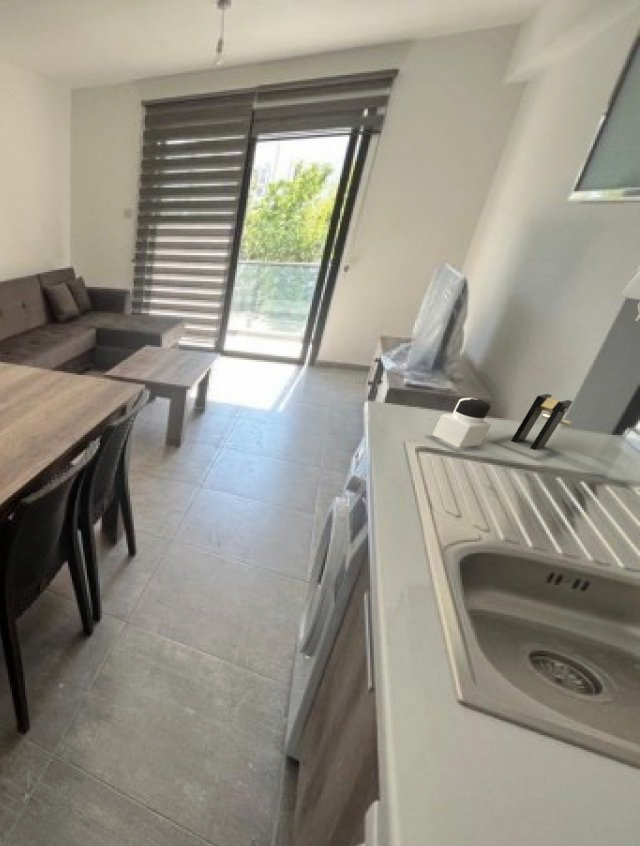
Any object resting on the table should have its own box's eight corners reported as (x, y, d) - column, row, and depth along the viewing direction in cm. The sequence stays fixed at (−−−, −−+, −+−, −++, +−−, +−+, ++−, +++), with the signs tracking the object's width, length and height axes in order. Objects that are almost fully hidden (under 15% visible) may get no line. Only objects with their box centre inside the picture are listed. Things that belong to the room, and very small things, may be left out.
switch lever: (540, 420, 124) (547, 412, 124) (567, 429, 120) (574, 420, 119) (532, 403, 117) (539, 394, 117) (560, 412, 113) (568, 403, 112)
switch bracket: (513, 438, 127) (542, 389, 120) (556, 453, 120) (589, 403, 113) (492, 443, 123) (521, 394, 116) (535, 460, 116) (568, 408, 109)
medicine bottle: (477, 449, 119) (502, 405, 114) (456, 452, 118) (480, 407, 112) (450, 436, 125) (472, 394, 120) (429, 438, 124) (450, 395, 118)
